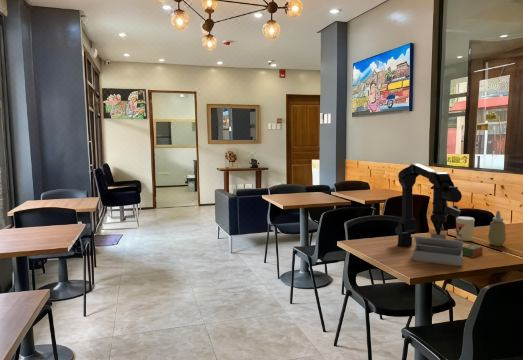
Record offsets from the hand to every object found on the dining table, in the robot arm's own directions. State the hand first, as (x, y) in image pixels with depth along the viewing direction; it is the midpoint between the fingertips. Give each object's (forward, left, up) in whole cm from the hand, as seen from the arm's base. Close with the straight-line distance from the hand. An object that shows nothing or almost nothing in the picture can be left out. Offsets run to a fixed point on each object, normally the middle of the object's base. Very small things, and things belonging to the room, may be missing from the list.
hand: (438, 233), depth 177 cm
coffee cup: (+11, +48, -13) cm, 51 cm away
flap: (0, +2, -5) cm, 5 cm away
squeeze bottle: (+26, +42, -13) cm, 51 cm away
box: (0, +1, -12) cm, 12 cm away
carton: (+10, +20, -13) cm, 26 cm away
